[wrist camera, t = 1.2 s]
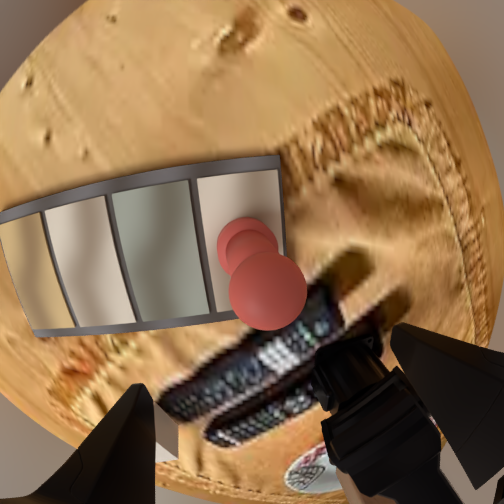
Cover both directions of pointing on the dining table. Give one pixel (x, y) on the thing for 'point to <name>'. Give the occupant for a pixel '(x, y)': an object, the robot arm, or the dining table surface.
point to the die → (165, 436)
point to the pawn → (260, 275)
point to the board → (136, 247)
